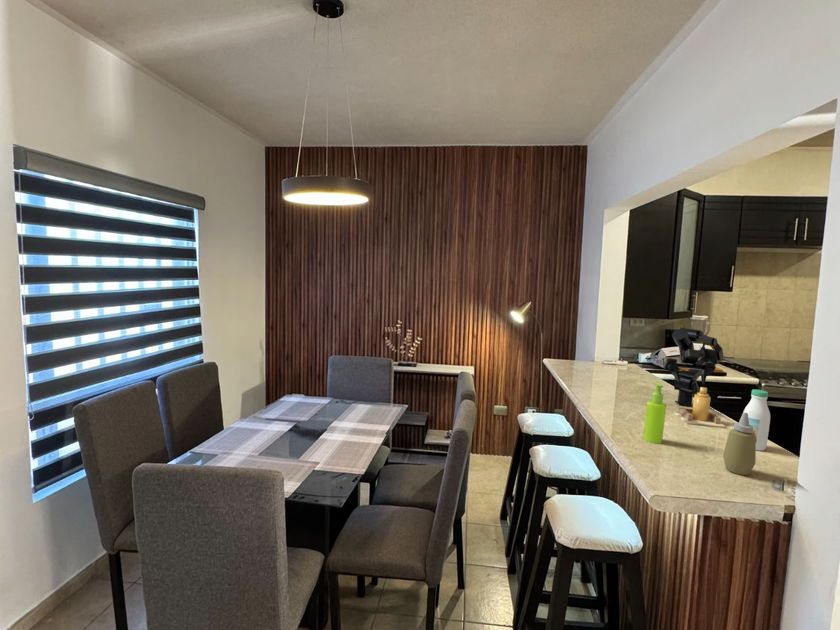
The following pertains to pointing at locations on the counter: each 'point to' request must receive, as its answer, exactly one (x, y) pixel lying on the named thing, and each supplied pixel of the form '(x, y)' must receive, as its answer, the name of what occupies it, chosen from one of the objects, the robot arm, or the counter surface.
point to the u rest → (688, 418)
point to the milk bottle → (759, 417)
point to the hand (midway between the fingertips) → (691, 383)
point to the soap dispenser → (655, 417)
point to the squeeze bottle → (740, 447)
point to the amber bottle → (701, 405)
